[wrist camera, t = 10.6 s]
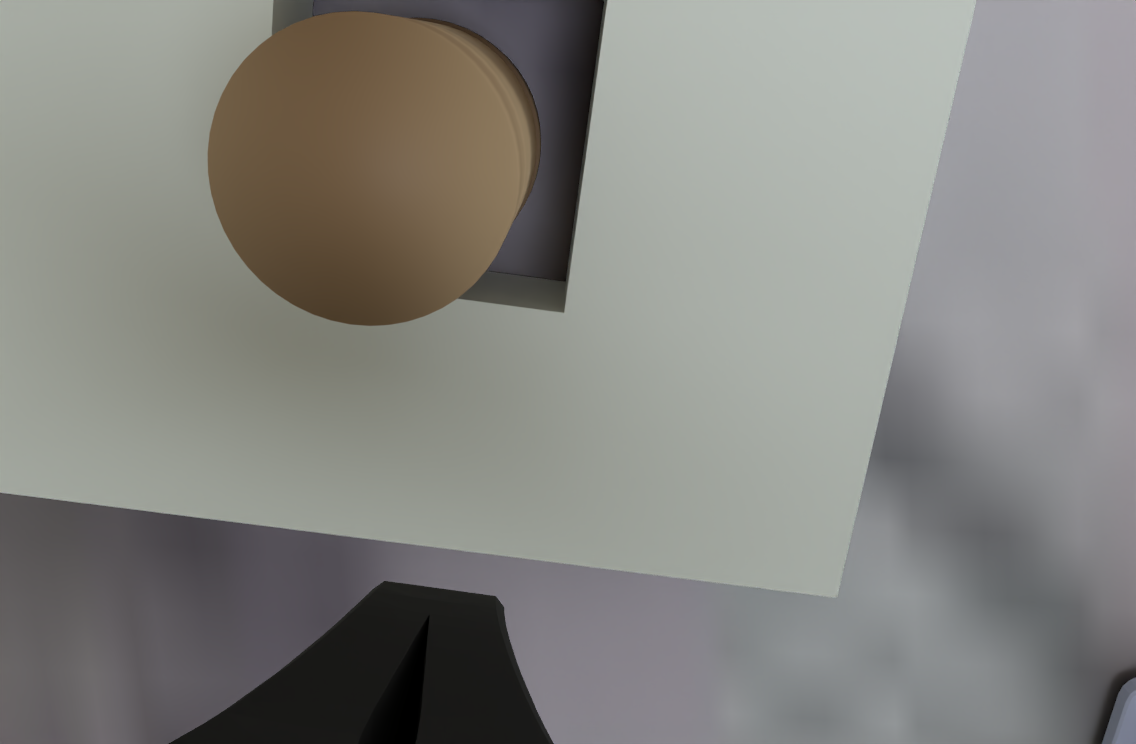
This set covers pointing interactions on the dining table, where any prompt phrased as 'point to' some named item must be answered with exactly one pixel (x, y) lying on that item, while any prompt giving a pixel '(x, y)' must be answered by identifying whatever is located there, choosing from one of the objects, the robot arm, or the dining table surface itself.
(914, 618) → the dining table surface
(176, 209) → the sage board
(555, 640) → the dining table surface
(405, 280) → the oak peg
